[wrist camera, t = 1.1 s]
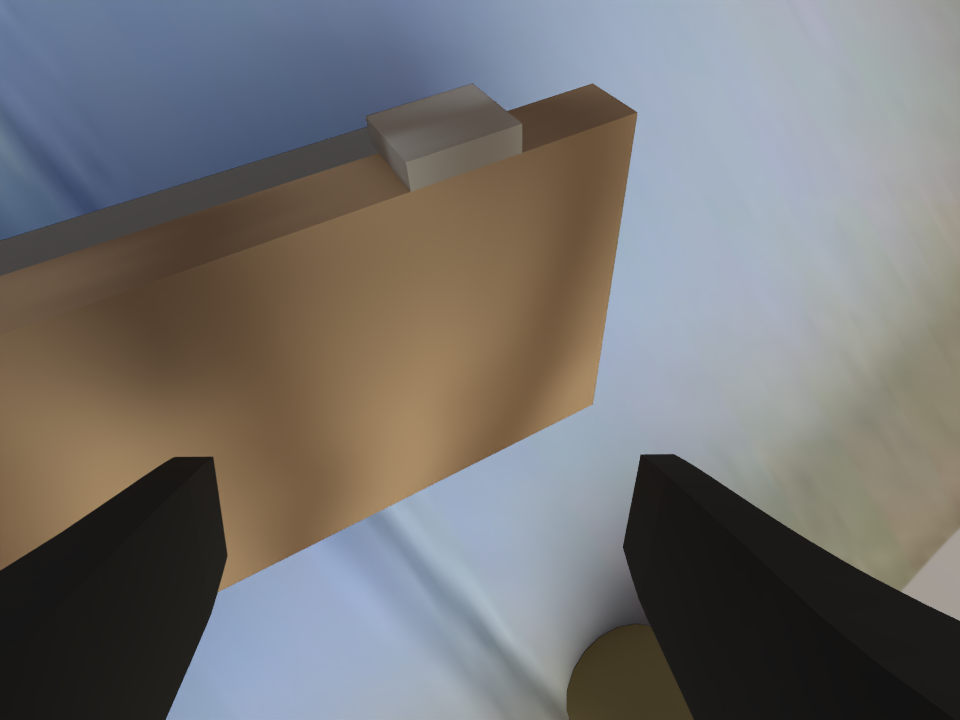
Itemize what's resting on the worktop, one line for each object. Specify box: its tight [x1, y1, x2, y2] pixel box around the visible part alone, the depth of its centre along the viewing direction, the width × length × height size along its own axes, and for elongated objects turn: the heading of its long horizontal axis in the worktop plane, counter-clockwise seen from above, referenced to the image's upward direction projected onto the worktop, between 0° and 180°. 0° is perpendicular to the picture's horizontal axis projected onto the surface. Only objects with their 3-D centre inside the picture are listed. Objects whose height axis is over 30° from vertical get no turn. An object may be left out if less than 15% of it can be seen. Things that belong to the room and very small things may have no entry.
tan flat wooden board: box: [0, 84, 637, 592], centre depth 14 cm, size 20×11×2 cm
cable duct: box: [0, 127, 378, 276], centre depth 19 cm, size 20×10×3 cm, turn 111°
